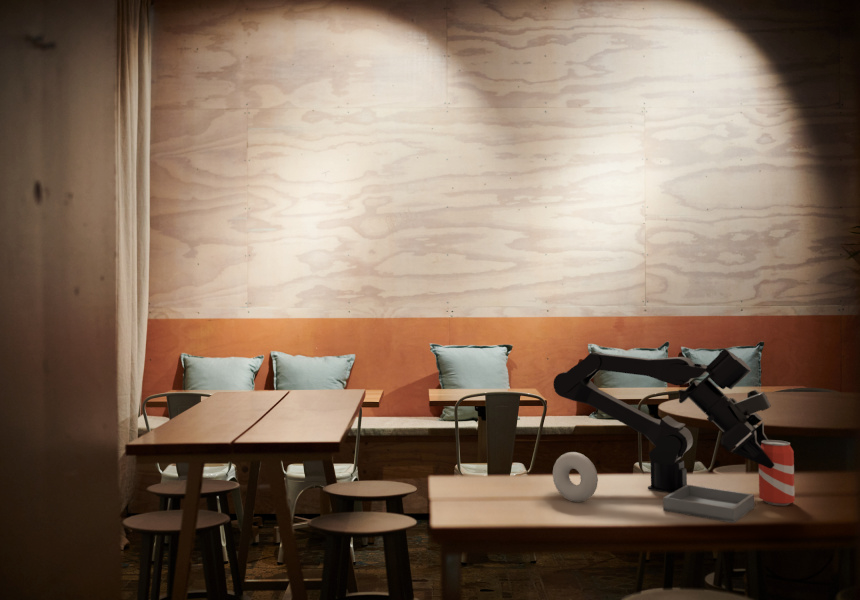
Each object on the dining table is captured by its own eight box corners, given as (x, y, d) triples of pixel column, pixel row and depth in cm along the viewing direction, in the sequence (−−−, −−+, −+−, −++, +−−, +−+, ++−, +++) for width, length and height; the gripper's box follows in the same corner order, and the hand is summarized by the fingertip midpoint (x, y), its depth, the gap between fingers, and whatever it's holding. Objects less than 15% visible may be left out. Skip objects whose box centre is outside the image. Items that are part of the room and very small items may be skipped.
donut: (601, 504, 138) (600, 454, 138) (592, 507, 135) (592, 456, 136) (558, 495, 145) (558, 447, 145) (549, 498, 142) (548, 450, 142)
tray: (663, 510, 133) (663, 497, 133) (687, 496, 143) (687, 484, 143) (734, 523, 125) (733, 509, 125) (754, 507, 134) (754, 494, 135)
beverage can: (797, 507, 134) (796, 445, 134) (761, 505, 136) (760, 444, 136) (791, 499, 140) (790, 440, 140) (757, 497, 142) (756, 438, 142)
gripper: (737, 382, 134) (803, 444, 127) (750, 374, 149) (809, 429, 143) (695, 420, 137) (757, 482, 131) (712, 409, 153) (768, 463, 147)
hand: (775, 462), depth 138 cm, fingers open, 9 cm apart
